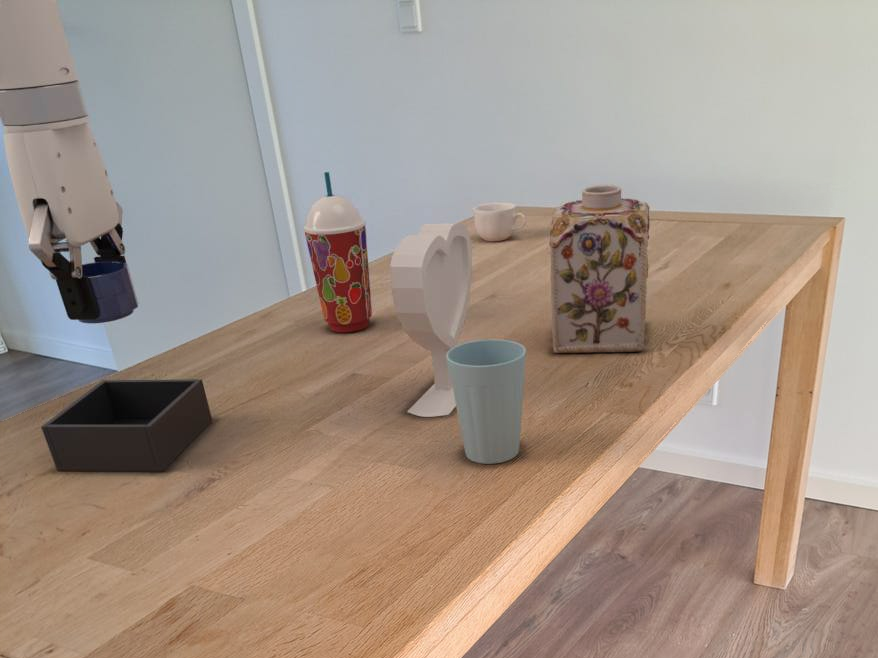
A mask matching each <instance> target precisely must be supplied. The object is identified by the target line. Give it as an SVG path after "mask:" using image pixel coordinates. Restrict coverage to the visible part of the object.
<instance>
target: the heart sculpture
mask: <svg viewBox="0 0 878 658" xmlns="http://www.w3.org/2000/svg"><path fill="white" fill-rule="evenodd" d="M470 233H471V232H470V229H469V228H468V227H467V225H465V224H464V223H439V222H438V223H437V222H436V223H430V222H429V223H425V224H422V225H421V226H420V229H419V230H418V233H417V234H407V235H405V236H404V237H403V238H402V239H401V241H400V242H399V243H398V244H397V246H396V248H395V249H394V252H393V253H392V256H391V260H390V265H389V278H390V289H391V296H392V301H393V305H394V310H395V314H396V317H397V319H398V321H399V323H400V326H401V328H402V330H403V332H404V333H405V334H406V335H407V336H408V337H409V339H410V340H411V341H412V342H415V344H417V345H419V346H420V347H422V348H423V349H425V350H426V351H427V352H428V351H429V352H430V351H431V359H432V360H431V362H432V371H433V380H434V383H433V384H432V385H431V387H429V388H428V389H427V390H426V391H425V393H423V395H422V396H421V397H420V398H419V399H418V400H417V401H416V402H415V403H414V404H413V405H412V406H411V407H410V408H409V409H408V410H407V413H409V414H411V415H414V416H418V417H423V418H430V417H431V418H433V417H443V416H448V415H450V414H451V413H452V411H453V410H454V409H455V408H457V407H456V402H455V397H454V392H453V387H452V382H451V378H450V375H449V370H448V365H447V360H446V354H447V352H448V351H449V350H450V349H451V348H453V347H455V346H457V345H459V340H460V337H461V334H462V330H463V327H464V324H465V320H466V316H467V312H468V308H469V303H470V297H471V288H472V279H473V250H472V241H471V234H470Z"/></svg>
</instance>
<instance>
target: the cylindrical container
mask: <svg viewBox="0 0 878 658" xmlns="http://www.w3.org/2000/svg"><path fill="white" fill-rule="evenodd" d="M126 263H127V262H126ZM126 263H124V262H120V261H101V262H95V261H94V262H87V263H82V273H83V274H82V276H88V278H89V281H90V284H91V288H92V291H93V294H94V297H95V301H96V304H97V307H98V310H99V314H100V316H99V317H98V318H97V319H87V320H77V321H78V322H80V323H82V324H103V323H109V322H114V321H118V320H122V319H124V318H126V317H129V316H131V315H132V314H133V313H134V311H135V309H137V308H139V304H140V303H139V300H138V297H137V293H136V290H135V285H134V282H133V278H132V274H131V271H130V268H129V264H128V263H127V264H126Z"/></svg>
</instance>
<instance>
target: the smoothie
mask: <svg viewBox="0 0 878 658" xmlns="http://www.w3.org/2000/svg"><path fill="white" fill-rule="evenodd" d="M323 173H324V174H323V175H324V180H325V186H326V195H324V196H322V197H320V198H318V199H317V200H315V202H314V203H313V204H311V207H310V208H309V209H308V212H307V215H306V219H305V224H304V226H303V227H302V229H303V231H304V236H305V240H306V246H307V249H308V254H309V258H310V263H311V267H312V271H313V276H314V280H315V284H316V289H317V293H318V298H319V302H320V306H321V311H322V315H323V320H324V322H325V323H327V324H328V327H329V329H330V330H331V331H333V332H336V333H342V334H343V333H344V334H345V333H355V332H359V331H362V330H364V329H366V328H367V327H368V326H369V325H370V318H372V315H373V310H372V309H373V308H372V296H371V283H370V267H369V256H368V243H367V241H368V240H367V230H366V220H365V219H364V218H363V217H362V215H361V213H360V211H359V209H358V208H357V207H356V206H355V204H354V203H352V201H351V200H349V199H348V198H346V197H344V196H341V195H337V194H333V190H332V182H331V177H330V172H329V171H326V172H323Z"/></svg>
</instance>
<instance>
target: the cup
mask: <svg viewBox="0 0 878 658" xmlns="http://www.w3.org/2000/svg"><path fill="white" fill-rule="evenodd" d="M526 359H527V348H526V347H525V346H524V345H523V344H521V343H519V342H518V341H517V342H516V341H513V340H508V339H498V338H497V339H496V338H491V339H490V338H487V339H478V340H477V339H476V340H471V341H467V342H463V343H460V344H457V346H455V347H453V348H451V349H450V350H449V351H448V352H447V354H446V360H447V365H448V370H449V375H450V378H451V382H452V387H453V392H454V397H455V402H456V407H455V408H456V412H457V418H458V423H459V428H460V433H461V437H462V443H463V448H464V452H465V457H466V458H467V459H468V460H470V461H471V462H473V463H478V464H482V465H483V464H484V465H493V464H495V465H496V464H501V463H505V462H508V461H510V460H512V459H514V458H515V457H517V455H518V454H519V453H520V443H521V442H520V441H521V431H522V416H523V415H522V414H523V413H522V412H523V403H524V402H523V401H524V386H525V372H526V361H527V360H526Z"/></svg>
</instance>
